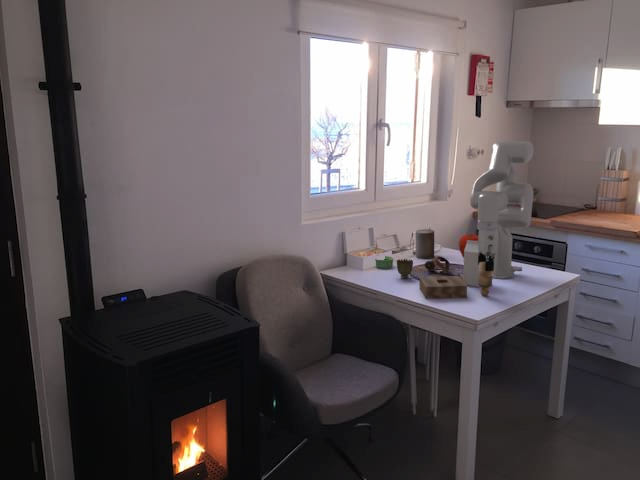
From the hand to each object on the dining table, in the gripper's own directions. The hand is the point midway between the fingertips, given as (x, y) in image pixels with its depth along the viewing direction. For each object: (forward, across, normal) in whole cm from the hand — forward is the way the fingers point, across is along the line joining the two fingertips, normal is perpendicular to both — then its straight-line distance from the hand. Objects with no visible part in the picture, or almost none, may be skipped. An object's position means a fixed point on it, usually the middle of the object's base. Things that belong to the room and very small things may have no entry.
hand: (485, 267), depth 215 cm
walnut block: (+12, +6, +16) cm, 20 cm away
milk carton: (+12, +17, 0) cm, 20 cm away
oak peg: (+12, +1, 0) cm, 12 cm away
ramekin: (+12, +49, +35) cm, 61 cm away
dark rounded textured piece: (+12, +29, +28) cm, 42 cm away
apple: (+11, +55, -9) cm, 57 cm away
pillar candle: (+11, +66, +12) cm, 68 cm away
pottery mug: (+11, +37, +12) cm, 40 cm away
